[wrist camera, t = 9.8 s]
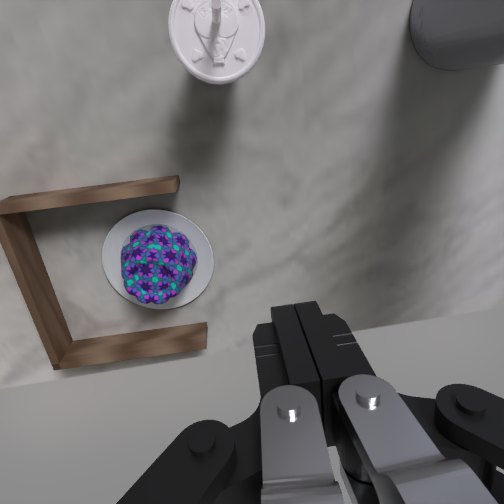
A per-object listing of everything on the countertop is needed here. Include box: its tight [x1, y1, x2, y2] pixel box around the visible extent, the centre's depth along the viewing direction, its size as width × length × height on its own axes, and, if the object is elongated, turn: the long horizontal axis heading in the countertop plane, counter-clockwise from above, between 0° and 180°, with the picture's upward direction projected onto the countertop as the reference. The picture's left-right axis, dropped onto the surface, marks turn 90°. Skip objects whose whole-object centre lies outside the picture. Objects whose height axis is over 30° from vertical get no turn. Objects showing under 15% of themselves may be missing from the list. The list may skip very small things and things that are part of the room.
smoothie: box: [169, 0, 265, 85], centre depth 26 cm, size 6×6×14 cm
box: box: [0, 175, 208, 370], centre depth 38 cm, size 17×19×4 cm
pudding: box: [102, 209, 214, 309], centre depth 38 cm, size 12×12×5 cm
